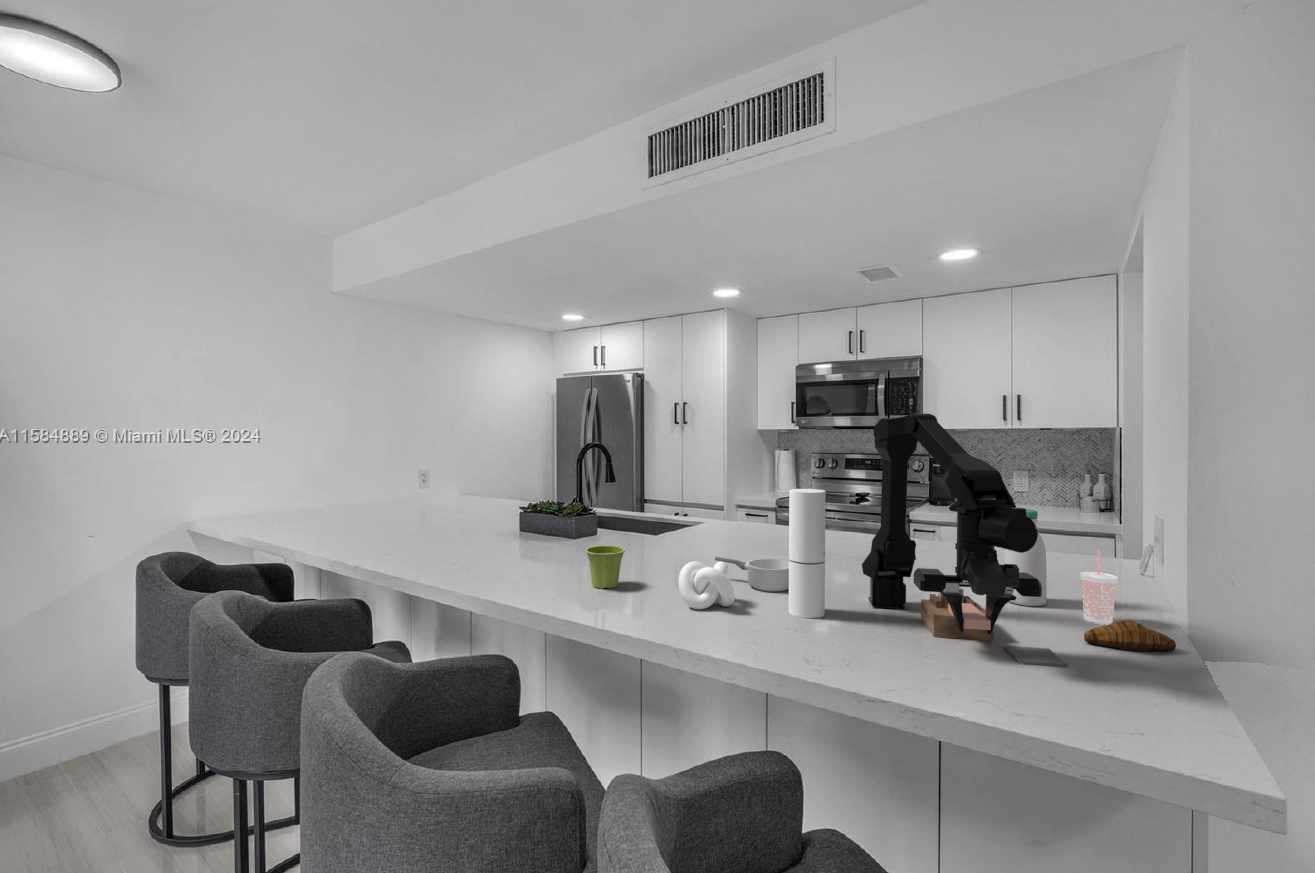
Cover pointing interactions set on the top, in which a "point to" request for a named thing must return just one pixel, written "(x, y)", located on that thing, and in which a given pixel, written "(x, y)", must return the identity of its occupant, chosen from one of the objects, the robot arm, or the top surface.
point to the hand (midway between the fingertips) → (974, 632)
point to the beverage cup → (1098, 595)
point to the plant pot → (605, 565)
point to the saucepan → (764, 573)
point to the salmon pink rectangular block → (973, 617)
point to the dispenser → (949, 619)
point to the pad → (1035, 655)
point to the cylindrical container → (807, 553)
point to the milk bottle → (1030, 566)
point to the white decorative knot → (705, 585)
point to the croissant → (1129, 637)
